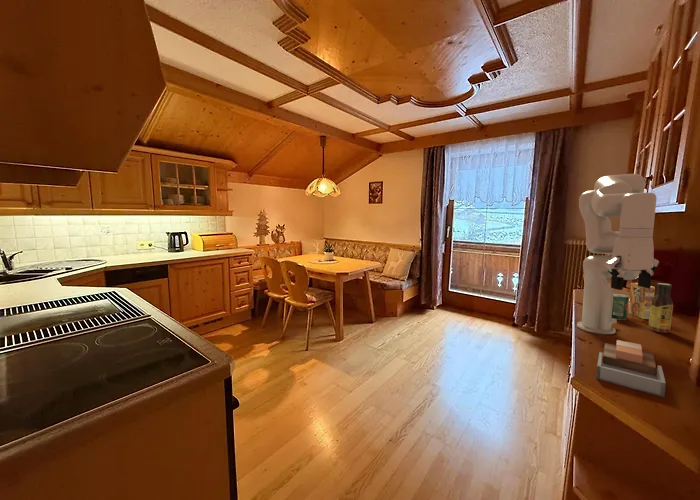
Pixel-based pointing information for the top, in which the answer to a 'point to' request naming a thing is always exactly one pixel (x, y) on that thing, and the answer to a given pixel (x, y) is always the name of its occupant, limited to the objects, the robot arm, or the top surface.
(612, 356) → the walnut board
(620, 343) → the cream tile
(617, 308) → the canned tomato
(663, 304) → the sauce bottle
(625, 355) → the terracotta tile
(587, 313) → the robot arm
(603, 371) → the tray
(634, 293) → the candy box
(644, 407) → the top surface
